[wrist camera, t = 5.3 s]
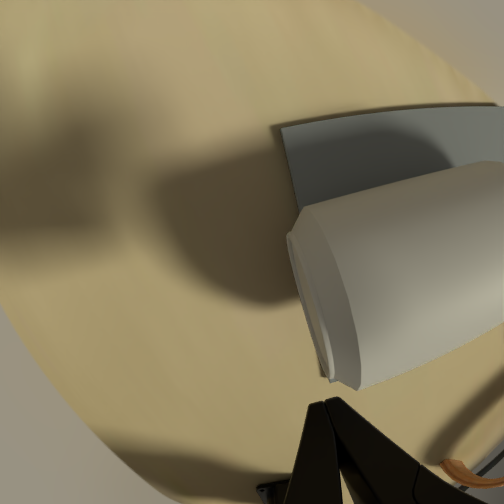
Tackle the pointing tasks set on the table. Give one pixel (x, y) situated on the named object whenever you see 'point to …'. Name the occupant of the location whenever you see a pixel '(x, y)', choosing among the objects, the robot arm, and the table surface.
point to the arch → (468, 475)
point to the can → (401, 271)
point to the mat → (387, 148)
